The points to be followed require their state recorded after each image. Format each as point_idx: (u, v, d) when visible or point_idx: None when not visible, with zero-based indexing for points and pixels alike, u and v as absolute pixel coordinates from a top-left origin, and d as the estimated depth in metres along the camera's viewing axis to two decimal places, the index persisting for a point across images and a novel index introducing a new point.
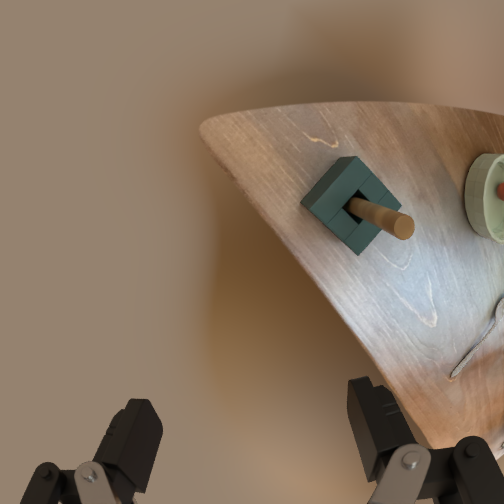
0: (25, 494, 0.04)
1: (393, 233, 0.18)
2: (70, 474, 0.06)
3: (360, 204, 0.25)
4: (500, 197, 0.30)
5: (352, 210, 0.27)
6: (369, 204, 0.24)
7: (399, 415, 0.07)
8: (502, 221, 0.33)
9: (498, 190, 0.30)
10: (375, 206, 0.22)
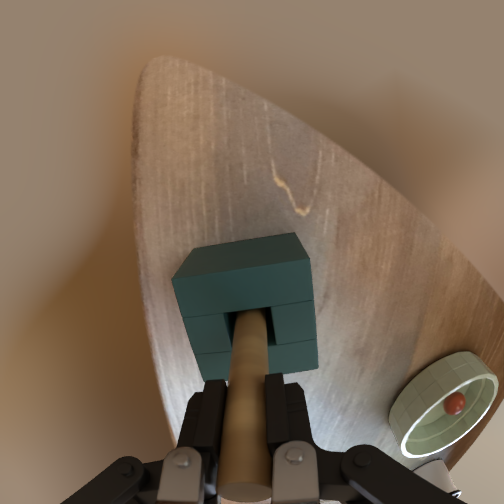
0: (91, 482, 0.05)
1: (216, 483, 0.07)
2: (152, 466, 0.07)
3: (245, 339, 0.13)
4: (445, 406, 0.24)
5: (234, 330, 0.15)
6: (252, 360, 0.12)
7: (304, 412, 0.09)
8: (425, 425, 0.26)
9: (449, 398, 0.24)
10: (253, 380, 0.11)
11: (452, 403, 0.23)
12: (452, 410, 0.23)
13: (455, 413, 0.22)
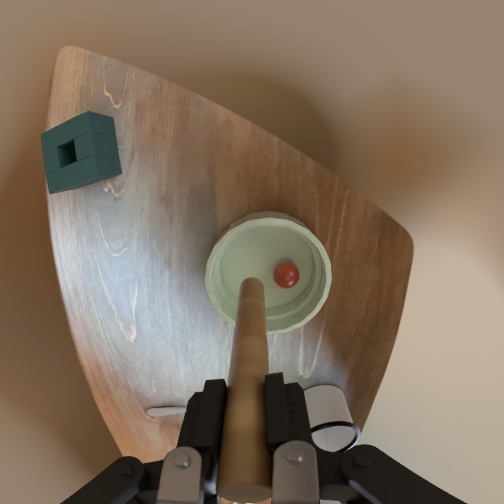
0: (91, 482, 0.05)
1: (216, 483, 0.07)
2: (152, 466, 0.07)
3: (245, 339, 0.13)
4: (273, 275, 0.33)
5: (234, 330, 0.15)
6: (252, 361, 0.12)
7: (304, 412, 0.09)
8: (270, 308, 0.35)
9: None
10: (253, 381, 0.11)
11: (277, 270, 0.32)
12: (278, 278, 0.32)
13: (283, 282, 0.31)
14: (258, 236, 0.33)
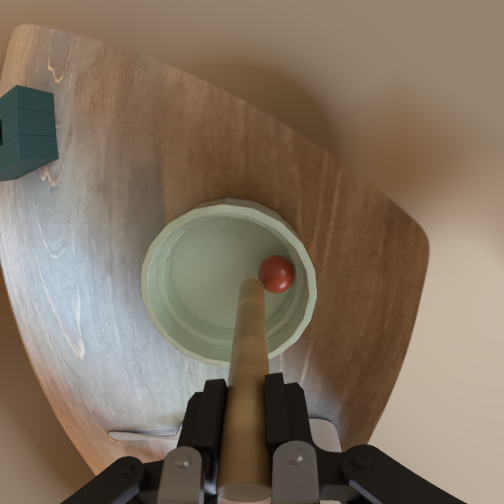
0: (91, 482, 0.05)
1: (216, 483, 0.07)
2: (152, 466, 0.07)
3: (245, 339, 0.13)
4: (280, 270, 0.21)
5: (234, 330, 0.15)
6: (252, 361, 0.12)
7: (303, 412, 0.09)
8: None
9: (268, 263, 0.22)
10: (253, 381, 0.11)
11: (277, 258, 0.22)
12: (288, 262, 0.22)
13: (293, 267, 0.22)
14: (217, 233, 0.24)
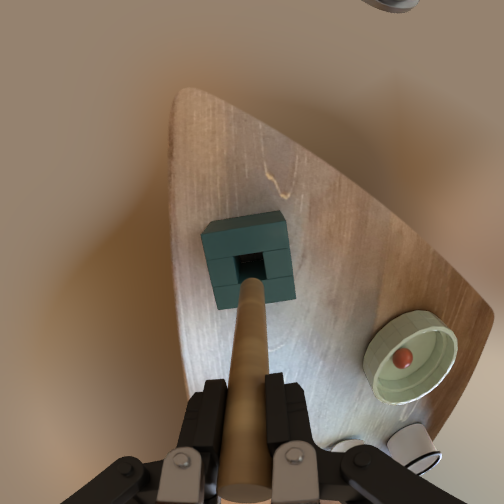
0: (91, 482, 0.05)
1: (216, 484, 0.07)
2: (152, 466, 0.07)
3: (246, 340, 0.13)
4: None
5: (235, 331, 0.15)
6: (253, 362, 0.12)
7: (304, 412, 0.09)
8: (398, 379, 0.36)
9: (406, 348, 0.33)
10: (253, 382, 0.11)
11: (401, 349, 0.33)
12: (395, 352, 0.34)
13: (393, 357, 0.33)
14: None
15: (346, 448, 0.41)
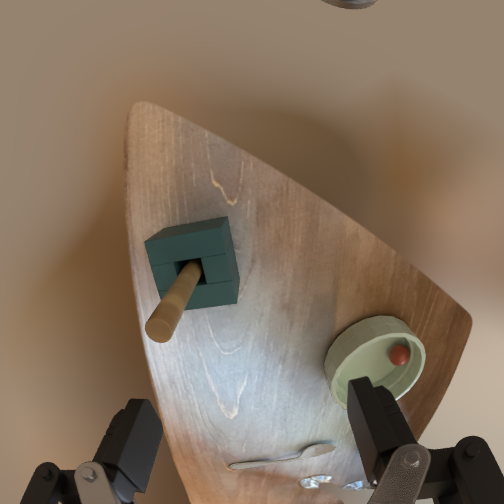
0: (25, 494, 0.04)
1: None
2: (70, 474, 0.06)
3: (182, 274, 0.24)
4: (404, 355, 0.32)
5: None
6: (181, 281, 0.22)
7: (399, 415, 0.07)
8: None
9: (398, 351, 0.33)
10: (177, 288, 0.21)
11: (403, 348, 0.33)
12: (407, 349, 0.33)
13: (408, 350, 0.33)
14: None
15: (318, 452, 0.41)
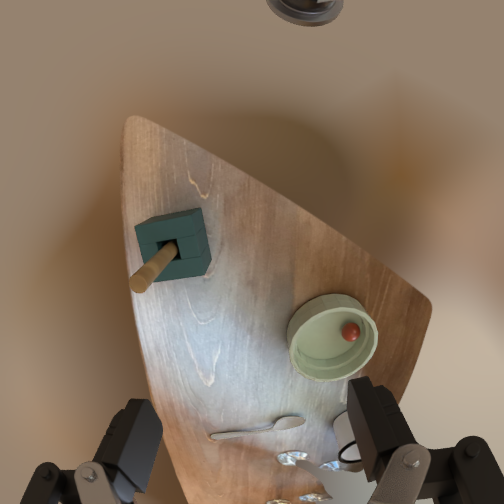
0: (25, 494, 0.04)
1: None
2: (70, 473, 0.06)
3: (161, 250, 0.31)
4: (350, 332, 0.39)
5: None
6: (159, 254, 0.29)
7: (399, 415, 0.07)
8: (327, 359, 0.44)
9: (346, 327, 0.40)
10: (155, 258, 0.28)
11: (352, 325, 0.40)
12: (357, 329, 0.40)
13: (359, 330, 0.40)
14: None
15: (290, 425, 0.49)
